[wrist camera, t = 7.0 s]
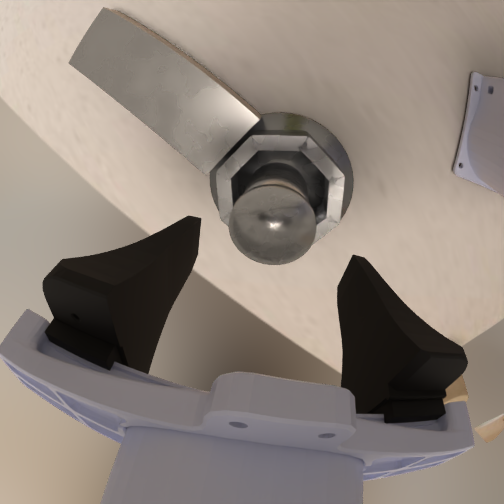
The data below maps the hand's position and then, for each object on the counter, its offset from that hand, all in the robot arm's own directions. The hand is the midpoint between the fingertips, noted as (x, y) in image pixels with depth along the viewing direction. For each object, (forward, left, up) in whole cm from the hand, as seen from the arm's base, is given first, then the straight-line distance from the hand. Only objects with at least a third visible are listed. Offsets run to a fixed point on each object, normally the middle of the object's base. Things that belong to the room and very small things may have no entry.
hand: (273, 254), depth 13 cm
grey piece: (-5, -6, -10) cm, 12 cm away
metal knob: (+1, 0, -9) cm, 9 cm away
